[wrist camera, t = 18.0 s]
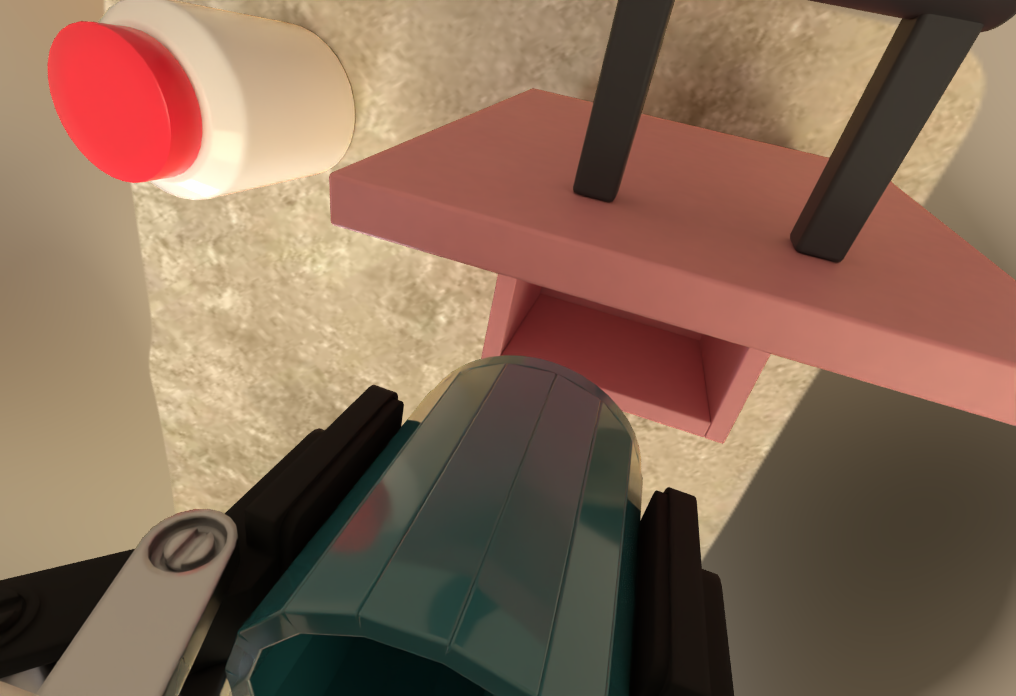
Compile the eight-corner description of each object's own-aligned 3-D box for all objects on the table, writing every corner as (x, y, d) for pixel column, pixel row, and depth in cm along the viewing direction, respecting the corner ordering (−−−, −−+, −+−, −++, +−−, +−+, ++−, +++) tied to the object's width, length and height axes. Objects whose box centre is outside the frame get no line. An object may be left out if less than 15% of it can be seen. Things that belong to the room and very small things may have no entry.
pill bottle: (354, 188, 30) (208, 231, 20) (240, 160, 31) (52, 189, 21) (357, 35, 26) (180, 0, 17) (227, 10, 27) (-7, -35, 18)
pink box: (708, 350, 28) (723, 444, 21) (527, 296, 30) (479, 365, 22) (798, 152, 23) (862, 180, 15) (573, 99, 25) (532, 101, 17)
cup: (389, 373, 12) (156, 606, 7) (611, 334, 10) (546, 621, 5) (463, 542, 14) (329, 835, 9) (662, 537, 12) (660, 915, 7)
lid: (1122, 459, 6) (1987, -218, 3) (328, 225, 8) (304, -385, 4) (860, 195, 15) (992, -35, 12) (527, 113, 17) (566, -109, 14)
